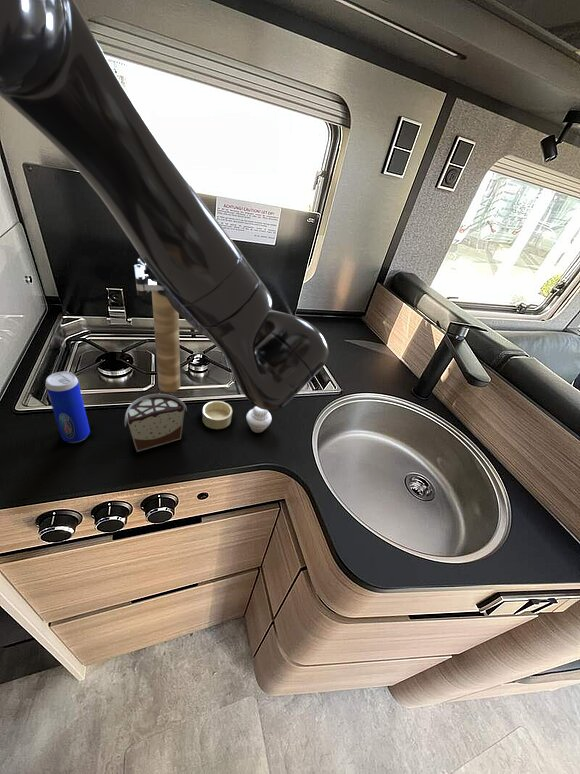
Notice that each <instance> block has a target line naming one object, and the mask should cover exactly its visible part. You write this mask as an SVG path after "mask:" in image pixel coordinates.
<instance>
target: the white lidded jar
mask: <svg viewBox="0 0 580 774" xmlns="http://www.w3.org/2000/svg"><path fill="white" fill-rule="evenodd" d="M245 417H246V422H247V424H248V426H249V428H250V430H251V431H252V432H254V433H258V434H259V433H262V432H264V431H265V430H266V429H267V428H268V427H269V426H270V424H271V423H272V420H273V419H272V418H273V417H272V415H271V413H270V412H269V410H264V409H261V408H258V407H257V406H254V407H253V408H251V409H249V410H248V412H247V413H246V416H245Z"/></svg>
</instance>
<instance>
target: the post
mask: <svg viewBox="0 0 580 774" xmlns="http://www.w3.org/2000/svg"><path fill="white" fill-rule="evenodd" d="M151 299H152V300H151V301H152V302H151V303H152V315H153V316H152V317H153V331H154V344H155V345H154V346H155V357H156V358H155V359H156V372H157V385H158V386H157V387H158V389H159V390H160V391H162V392H165V393H174V392H177V391H178V390H179V389H180V388H181V355H180V354H181V352H180V351H181V350H180V314H179V313H178V312H177V311H176V310H175V309H174V308H173V307H172V305H171V304H170V302H169V300H168V299H167V297H165V296H162V295H160V294H159V293H158V292H157V291H151Z"/></svg>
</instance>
